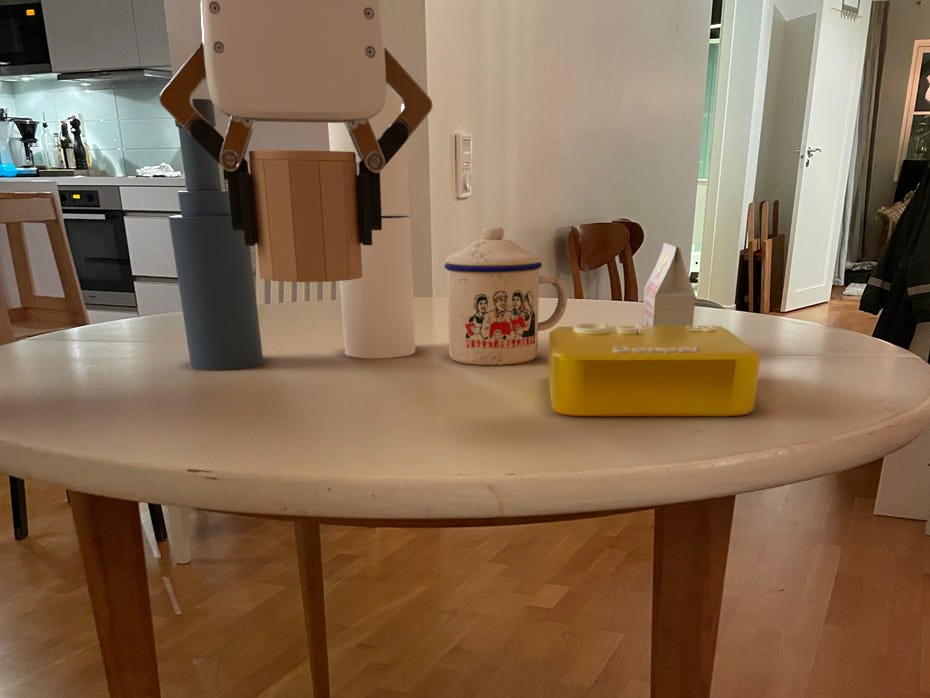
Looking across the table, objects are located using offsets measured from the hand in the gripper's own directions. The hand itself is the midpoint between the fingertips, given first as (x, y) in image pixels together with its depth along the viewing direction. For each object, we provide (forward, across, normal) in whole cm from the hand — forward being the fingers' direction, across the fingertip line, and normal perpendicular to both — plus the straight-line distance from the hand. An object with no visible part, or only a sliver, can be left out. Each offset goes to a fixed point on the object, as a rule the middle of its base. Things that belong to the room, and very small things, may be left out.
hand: (308, 241), depth 57 cm
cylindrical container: (+13, -7, -34) cm, 37 cm away
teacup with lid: (+12, -19, -28) cm, 36 cm away
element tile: (+12, -26, -8) cm, 29 cm away
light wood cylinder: (+2, 0, 0) cm, 2 cm away
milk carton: (+12, -34, -25) cm, 43 cm away
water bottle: (+13, +8, -31) cm, 34 cm away
